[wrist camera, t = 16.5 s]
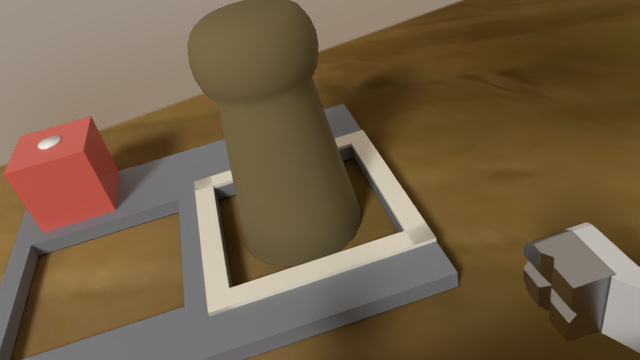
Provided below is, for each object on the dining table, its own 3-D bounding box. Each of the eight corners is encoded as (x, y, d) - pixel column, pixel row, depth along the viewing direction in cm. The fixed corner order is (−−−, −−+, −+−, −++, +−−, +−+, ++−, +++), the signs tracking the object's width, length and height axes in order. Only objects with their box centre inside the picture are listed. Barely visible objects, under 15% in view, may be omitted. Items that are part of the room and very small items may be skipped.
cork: (263, 186, 30) (200, -10, 24) (369, 183, 28) (332, -28, 22) (226, 265, 25) (136, 49, 19) (350, 268, 24) (298, 31, 17)
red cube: (42, 232, 29) (2, 172, 27) (54, 192, 32) (19, 135, 30) (115, 210, 30) (82, 149, 27) (119, 172, 33) (90, 114, 30)
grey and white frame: (-41, 456, 20) (-57, 442, 19) (36, 207, 33) (28, 195, 32) (458, 286, 22) (457, 269, 21) (345, 114, 35) (343, 100, 34)
